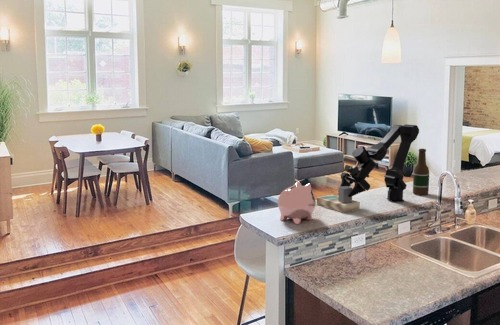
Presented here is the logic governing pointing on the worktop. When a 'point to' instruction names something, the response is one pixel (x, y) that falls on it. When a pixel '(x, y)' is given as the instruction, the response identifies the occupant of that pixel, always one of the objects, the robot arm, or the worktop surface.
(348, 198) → the grey block
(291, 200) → the piggy bank
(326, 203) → the stand
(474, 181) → the worktop surface
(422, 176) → the beer bottle
